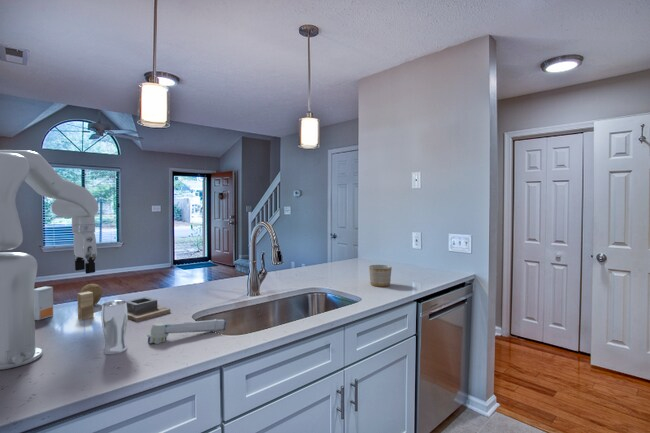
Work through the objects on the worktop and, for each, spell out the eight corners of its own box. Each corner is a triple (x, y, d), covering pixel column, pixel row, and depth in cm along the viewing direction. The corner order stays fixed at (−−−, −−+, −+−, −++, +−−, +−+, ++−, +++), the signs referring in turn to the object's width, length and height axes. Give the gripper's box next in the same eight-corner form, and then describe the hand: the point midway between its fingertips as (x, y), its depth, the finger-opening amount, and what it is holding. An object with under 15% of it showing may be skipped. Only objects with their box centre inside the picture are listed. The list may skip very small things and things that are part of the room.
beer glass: (123, 344, 112) (122, 298, 111) (132, 349, 107) (131, 302, 107) (98, 351, 107) (97, 303, 106) (107, 357, 102) (105, 307, 102)
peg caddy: (170, 312, 144) (170, 300, 144) (136, 321, 133) (136, 309, 133) (145, 304, 156) (145, 293, 156) (112, 312, 144) (112, 300, 144)
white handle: (227, 321, 123) (149, 323, 110) (224, 339, 123) (146, 344, 110) (223, 317, 128) (148, 319, 115) (221, 335, 127) (145, 339, 115)
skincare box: (39, 320, 134) (38, 290, 134) (30, 319, 135) (29, 289, 135) (54, 315, 140) (53, 286, 140) (45, 315, 141) (44, 286, 141)
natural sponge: (78, 310, 147) (77, 287, 147) (78, 305, 155) (77, 283, 154) (103, 306, 153) (103, 284, 152) (102, 301, 160) (101, 280, 160)
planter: (366, 286, 191) (367, 267, 190) (371, 281, 202) (371, 264, 202) (389, 288, 187) (390, 269, 186) (392, 283, 199) (393, 265, 198)
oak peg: (93, 317, 138) (93, 292, 138) (82, 319, 135) (81, 294, 135) (89, 315, 141) (88, 291, 140) (78, 318, 137) (77, 293, 137)
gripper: (104, 229, 135) (105, 272, 136) (85, 227, 145) (86, 267, 146) (82, 230, 129) (83, 275, 130) (64, 228, 139) (65, 270, 139)
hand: (85, 271), depth 138 cm, fingers open, 9 cm apart
